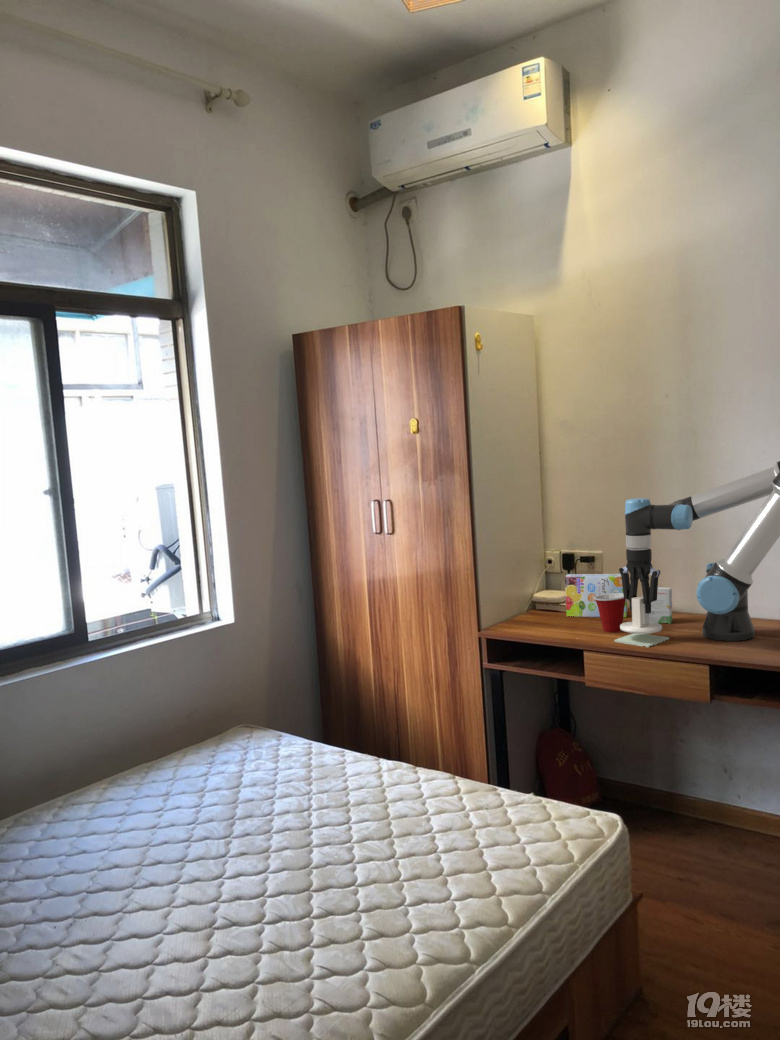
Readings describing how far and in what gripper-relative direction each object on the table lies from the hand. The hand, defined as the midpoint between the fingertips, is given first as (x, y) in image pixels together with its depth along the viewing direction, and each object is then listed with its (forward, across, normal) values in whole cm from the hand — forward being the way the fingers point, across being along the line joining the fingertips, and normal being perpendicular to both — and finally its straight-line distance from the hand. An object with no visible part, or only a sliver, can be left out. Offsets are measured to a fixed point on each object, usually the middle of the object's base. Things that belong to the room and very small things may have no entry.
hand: (640, 622), depth 255 cm
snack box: (+6, +32, -22) cm, 39 cm away
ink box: (+6, +9, -25) cm, 27 cm away
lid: (+2, 0, 0) cm, 2 cm away
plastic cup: (+6, +15, -6) cm, 17 cm away
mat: (+6, 0, 0) cm, 6 cm away
